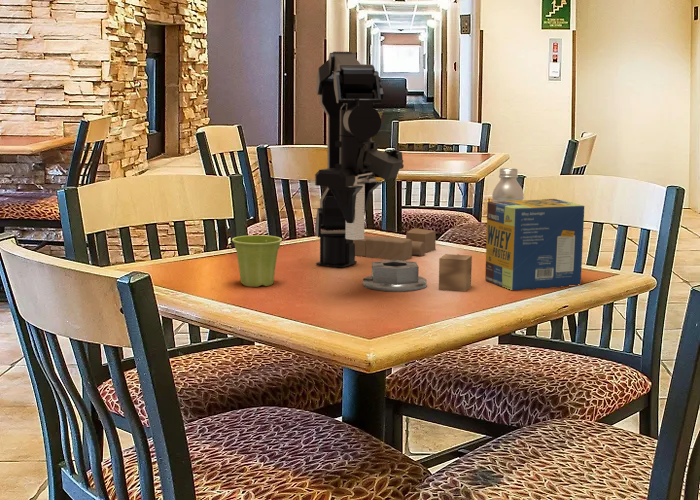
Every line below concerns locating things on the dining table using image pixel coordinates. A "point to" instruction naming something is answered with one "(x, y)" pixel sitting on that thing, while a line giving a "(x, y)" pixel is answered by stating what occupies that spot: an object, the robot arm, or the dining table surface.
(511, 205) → the protein box
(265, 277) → the plant pot
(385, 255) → the wooden block set
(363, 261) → the dining table surface
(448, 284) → the brown wooden block
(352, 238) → the tan elongated piece
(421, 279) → the socket
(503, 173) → the plastic bottle
